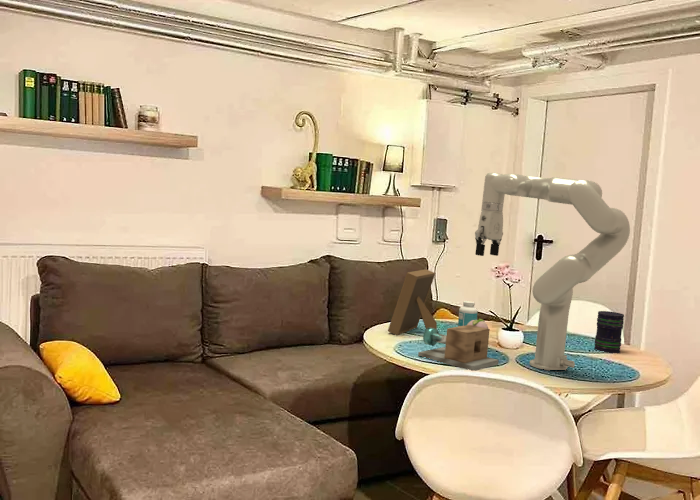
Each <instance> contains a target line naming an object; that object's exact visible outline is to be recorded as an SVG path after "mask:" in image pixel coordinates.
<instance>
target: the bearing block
mask: <svg viewBox="0 0 700 500" xmlns="http://www.w3.org/2000/svg"><path fill="white" fill-rule="evenodd" d="M489 337H490V328H488V329H487V328H482V327H478V326H473V325H465V326H459V327H458V326H454V327H449V328H446V344H445V346H443V347H438V348H433V349H428V350H422V351H418V353H417V356H422V357H426V358H430V359H433V360H432V361H434V360H437V361H440V362H439V363H441V362H443V364H445V363H446V365H449V364H450V366H453V367H456V368H461V369H465V370H468V369H469V371H472V370H475V371H478V370H482V369H485V368H489V367H493V366H498V365H499V359H495V358H491V357H489V356H488V351H489V350H488V349H489V339H490V338H489ZM422 357H421V358H422ZM426 358H425V359H426ZM430 359H429V360H430ZM437 361H436V362H437Z"/></svg>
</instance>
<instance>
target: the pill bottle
mask: <svg viewBox="0 0 700 500" xmlns="http://www.w3.org/2000/svg"><path fill="white" fill-rule="evenodd" d="M462 305H463V306H460V307H459V309H458V321H457V327H459V326H465V325H467V324H468V323H469V322H470V321H472V320H477V319H478V309H477V308H476V307H475V305H476V302H475V301H470V300H469V301H468V300H463V303H462Z"/></svg>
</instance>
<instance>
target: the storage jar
mask: <svg viewBox="0 0 700 500" xmlns="http://www.w3.org/2000/svg"><path fill="white" fill-rule="evenodd" d="M624 317H625V314H623V313H621V312H615V311H607V310H599V311H597V318H596V326H597V327H596V333H595V337H594V338H595V339H594V348H595V349H597V350H600V351H604V352H609V353H608V354H613V353H617V354H620V353H621V346H622V331H623V329H624V322H625V321H624ZM595 349H594V350H595ZM597 350H596V351H597ZM600 351H599V352H600ZM604 352H603V353H604Z"/></svg>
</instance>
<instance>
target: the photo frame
mask: <svg viewBox="0 0 700 500" xmlns="http://www.w3.org/2000/svg"><path fill="white" fill-rule="evenodd" d="M435 276H436V272H434V271H433V270H429V269H427V268H426V269H419V270H415V271H408V272H406V274H405V277H404V281H403V283H402V287H401V290H400V293H399V296H398V297H397V298H398V299H397V302H396V305H395V308H394V310H393V314H392V317H391V320H390V323H389V326H388V329H387V331H388V332H389V333H391V334H394V335H395V336H400V335H402V334H404V333H407V331H408V332H410V331H412V329H413V330H415V329H418V327H419V322H420V319H422V322H423V324H424V328H425V330H426V329H427V328H429V327H430V328H435V329H437V330H438V328H437V327H438V322H437V321H436V320H435V318H434V316H433V315H432V314H431V312H430V311H429V309H428V308H427V306H426V302H427V300H428V296H429V293H430V291H431V287H432V284H433V282H434V278H435ZM414 328H415V329H414Z"/></svg>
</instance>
